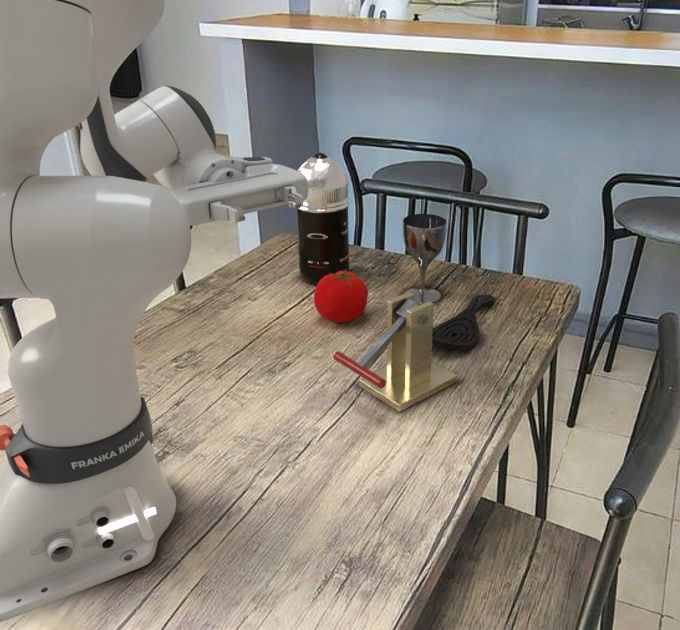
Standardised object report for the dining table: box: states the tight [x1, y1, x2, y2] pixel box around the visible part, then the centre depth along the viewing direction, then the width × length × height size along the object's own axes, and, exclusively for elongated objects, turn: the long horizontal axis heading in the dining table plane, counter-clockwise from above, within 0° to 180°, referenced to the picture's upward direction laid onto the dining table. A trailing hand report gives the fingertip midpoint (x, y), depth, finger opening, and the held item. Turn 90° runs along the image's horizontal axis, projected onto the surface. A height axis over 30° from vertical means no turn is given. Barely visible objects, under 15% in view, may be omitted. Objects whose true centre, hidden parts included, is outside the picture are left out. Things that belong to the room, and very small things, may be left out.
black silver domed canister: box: [295, 152, 350, 285], centre depth 131 cm, size 10×10×25 cm
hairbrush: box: [432, 294, 495, 351], centre depth 119 cm, size 8×4×25 cm
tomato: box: [313, 270, 369, 323], centre depth 120 cm, size 9×10×8 cm
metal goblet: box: [402, 213, 447, 305], centre depth 127 cm, size 8×8×15 cm
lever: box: [332, 299, 420, 388], centre depth 96 cm, size 13×10×2 cm
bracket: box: [358, 292, 459, 413], centre depth 100 cm, size 12×9×14 cm
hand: (270, 209), depth 93 cm, fingers open, 8 cm apart
